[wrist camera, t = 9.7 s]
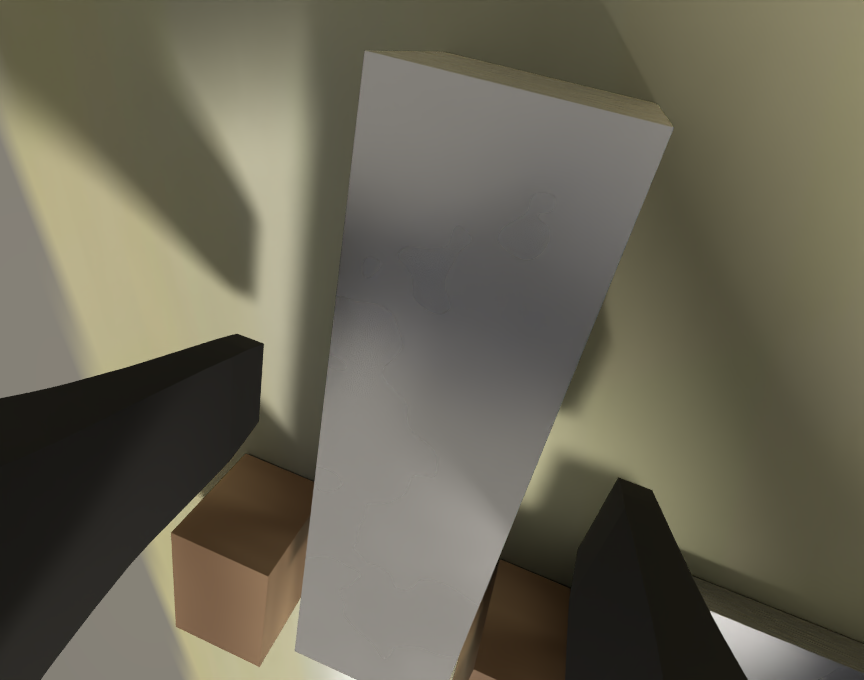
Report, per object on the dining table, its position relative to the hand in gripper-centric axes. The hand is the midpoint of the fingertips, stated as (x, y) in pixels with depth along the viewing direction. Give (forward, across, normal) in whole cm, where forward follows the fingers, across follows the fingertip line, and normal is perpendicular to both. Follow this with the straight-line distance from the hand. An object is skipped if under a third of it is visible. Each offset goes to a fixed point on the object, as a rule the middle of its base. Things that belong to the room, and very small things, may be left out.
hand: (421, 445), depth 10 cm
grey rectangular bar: (+2, 0, 0) cm, 2 cm away
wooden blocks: (+2, 0, +6) cm, 7 cm away
